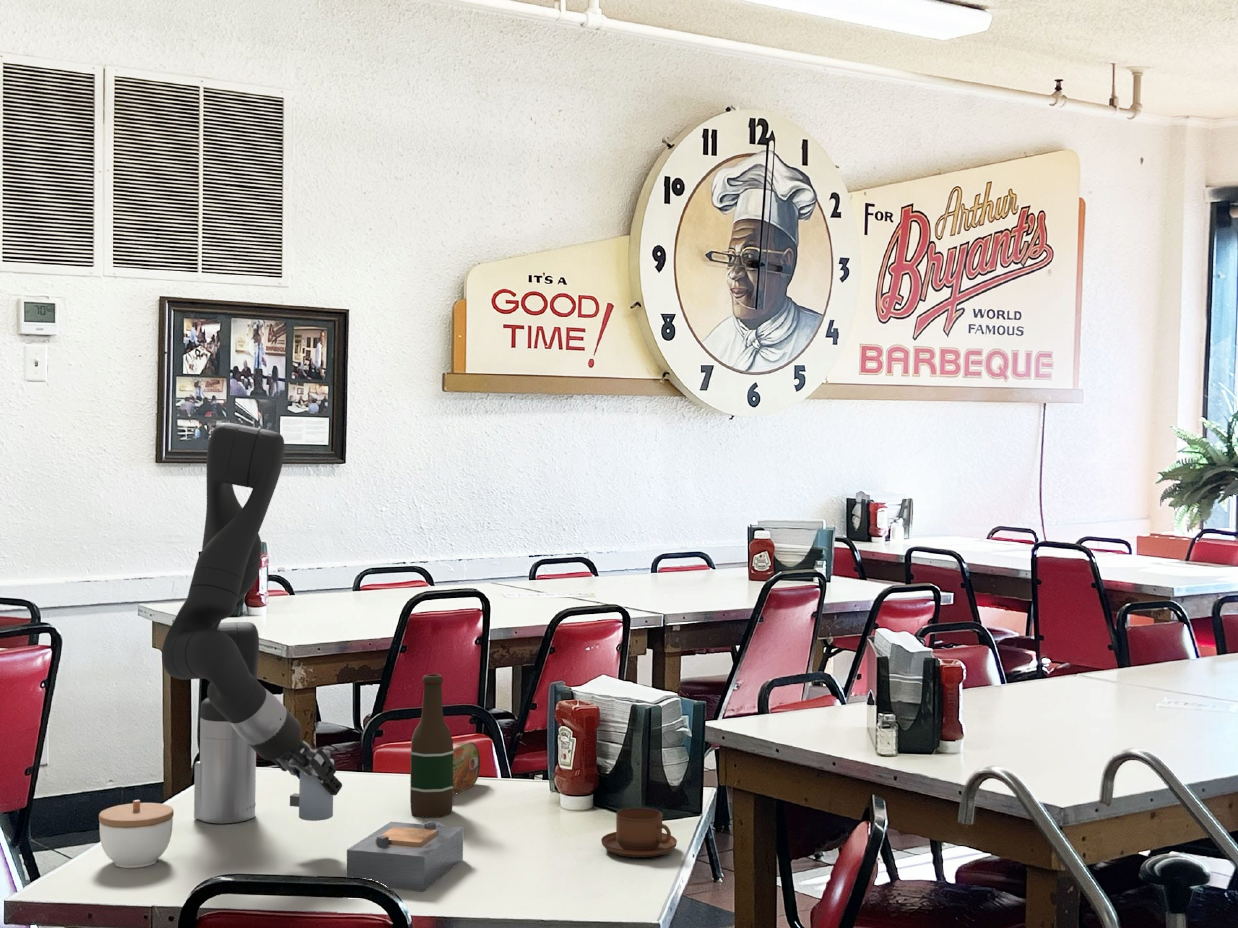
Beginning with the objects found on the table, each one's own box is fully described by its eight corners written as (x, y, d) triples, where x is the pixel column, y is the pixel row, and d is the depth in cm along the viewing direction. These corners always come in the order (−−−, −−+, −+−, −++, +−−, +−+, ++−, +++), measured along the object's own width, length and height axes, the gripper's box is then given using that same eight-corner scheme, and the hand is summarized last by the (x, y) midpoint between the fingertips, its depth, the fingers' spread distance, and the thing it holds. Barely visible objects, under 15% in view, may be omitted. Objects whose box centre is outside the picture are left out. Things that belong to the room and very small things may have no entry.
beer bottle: (445, 819, 235) (446, 679, 235) (402, 816, 237) (403, 677, 237) (459, 808, 243) (461, 672, 243) (417, 805, 245) (419, 670, 244)
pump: (284, 817, 213) (285, 753, 213) (299, 809, 218) (301, 746, 218) (323, 821, 212) (324, 757, 212) (338, 812, 217) (339, 749, 217)
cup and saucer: (685, 846, 222) (686, 808, 222) (663, 866, 211) (664, 826, 211) (615, 838, 226) (616, 800, 226) (590, 858, 215) (590, 818, 215)
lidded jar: (181, 865, 207) (181, 803, 207) (106, 876, 201) (107, 812, 201) (163, 848, 216) (163, 788, 216) (91, 858, 210) (92, 797, 210)
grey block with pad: (346, 883, 199) (346, 841, 199) (403, 843, 220) (404, 805, 220) (424, 891, 197) (424, 847, 197) (474, 850, 217) (475, 810, 217)
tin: (444, 800, 249) (444, 754, 249) (428, 798, 250) (429, 752, 250) (481, 782, 263) (482, 738, 263) (466, 780, 264) (467, 737, 264)
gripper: (308, 709, 204) (369, 775, 214) (250, 695, 213) (310, 759, 223) (278, 751, 200) (341, 816, 210) (220, 735, 209) (283, 798, 219)
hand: (325, 786), depth 216 cm, fingers closed on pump, 5 cm apart
